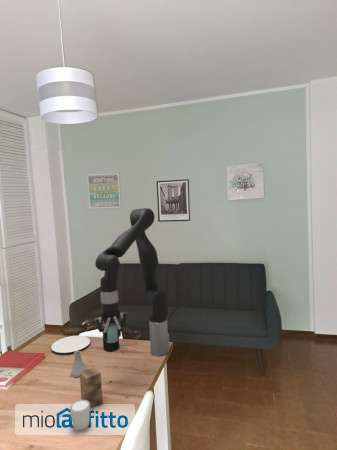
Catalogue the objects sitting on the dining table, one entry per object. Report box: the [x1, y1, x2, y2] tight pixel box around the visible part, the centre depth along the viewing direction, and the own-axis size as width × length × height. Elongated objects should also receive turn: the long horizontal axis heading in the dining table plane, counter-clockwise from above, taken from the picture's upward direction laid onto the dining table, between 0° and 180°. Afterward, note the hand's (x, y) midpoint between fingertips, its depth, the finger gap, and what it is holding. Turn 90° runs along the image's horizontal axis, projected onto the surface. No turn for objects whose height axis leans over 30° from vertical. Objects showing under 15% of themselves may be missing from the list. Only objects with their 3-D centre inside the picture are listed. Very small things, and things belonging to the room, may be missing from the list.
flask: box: [70, 350, 87, 378], centre depth 144 cm, size 7×7×10 cm
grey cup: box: [69, 399, 91, 431], centre depth 110 cm, size 7×7×7 cm
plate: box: [50, 335, 91, 354], centre depth 172 cm, size 21×21×2 cm
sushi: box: [102, 338, 120, 353], centre depth 167 cm, size 8×8×8 cm
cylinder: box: [106, 323, 118, 343], centre depth 135 cm, size 5×5×7 cm
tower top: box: [79, 366, 102, 394], centre depth 122 cm, size 6×6×6 cm
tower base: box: [80, 384, 103, 409], centre depth 123 cm, size 7×7×6 cm
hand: (112, 338), depth 135 cm, fingers closed on cylinder, 5 cm apart
